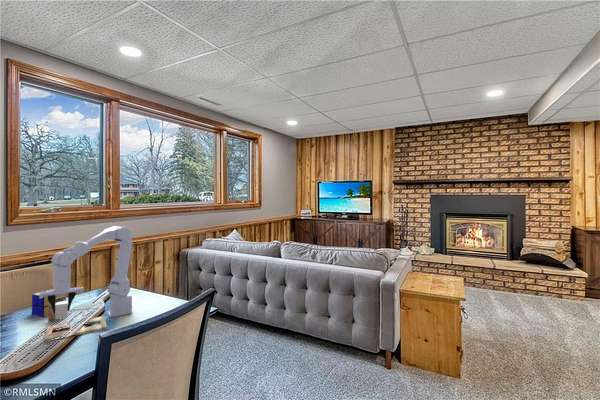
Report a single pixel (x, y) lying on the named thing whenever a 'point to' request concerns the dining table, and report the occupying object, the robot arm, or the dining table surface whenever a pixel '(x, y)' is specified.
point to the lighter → (51, 315)
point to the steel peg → (61, 309)
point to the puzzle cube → (42, 304)
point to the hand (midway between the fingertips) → (61, 311)
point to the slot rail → (82, 331)
